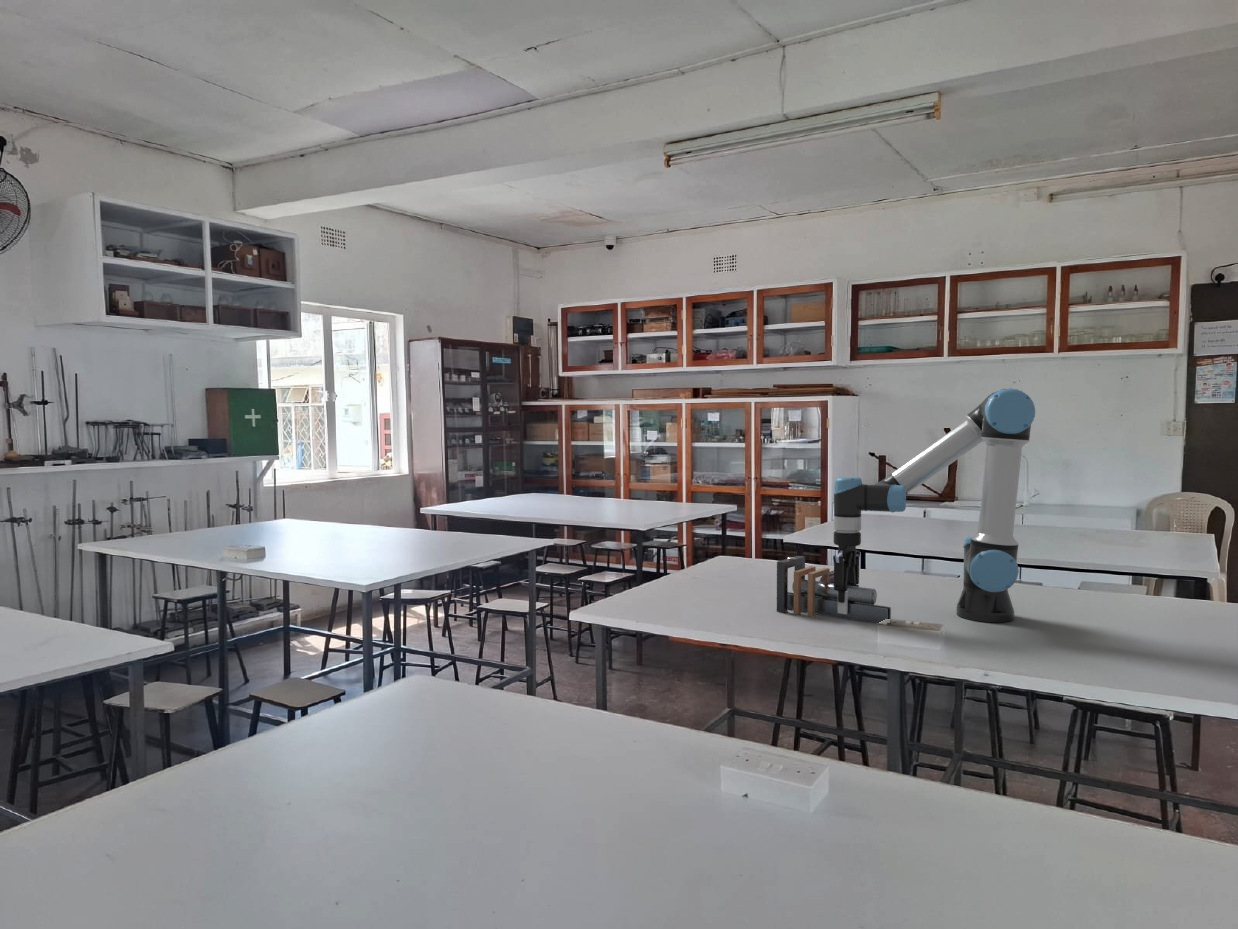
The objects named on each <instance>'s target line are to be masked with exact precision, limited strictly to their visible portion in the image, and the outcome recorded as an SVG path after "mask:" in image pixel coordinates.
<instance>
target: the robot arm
mask: <svg viewBox="0 0 1238 929" xmlns="http://www.w3.org/2000/svg"><path fill="white" fill-rule="evenodd" d="M1035 417H1036V406H1035V403H1034V401H1033V399H1032V398H1031V397H1030V396H1029V395H1028V394H1027V393H1025V392H1024V391H1023V390H1019V389H1018V388H1002V389H1000V390H997V391H995V392H994V391H993V392H992V393H991V394H989V395H988V396H987V397H986V398H985V399H984V400H983V401H982V402H981V403H979V404H978V406H976V407H975V408H974V409H973V410H972V411H970V412H969V413H967V415H965V418H964V421H963V422H961V423H959V425H957V426H956V427H954V428H953V429H952V430H950V431H949V432H947V433H946V434H944V435H943V436H942V437H940V438H939V439H938V440H936V441H934V442H933V443H931V445H929V446H928V447H926V449H923V450H922V451H921V452H920V453H918V454H917V455H915V456H914V457H912V458H911V459H910V460H908V461H907V462H906V463H904V464H903V465H902V466H900V467H899V468H897V469H896V470H895V471H893V472H891V473H890V475H888V476H886V477H885V478H883V479H882V480H880V481H878V482H877V483H875V484H864V483H863V482H862V478H860V477H856V476H840V477H837V478H835V480H834V486H833V487H834V488H833V518H832V521H833V529H834V530H835V531H834V532H833V544H834V545H836V546H838V547H837V548H838V550H837V554H836V555H835V554H834V555H833V556H832V560H833V571H834V590H837V591H838V613H841V614H848V591H846V589H847V585H849V586H856V587H860V585H859V584H860V556H861V550H858V549H857V547H858V546H861V542H862V533H861V532H860V531H861V530H862V512H863V511H864V512H868V511H869V512H886V513H887V512H888V513H903V512H904V511H906V508H907V495H909V494H910V493H911V492H913V491H914V490H916V488H918V487H920V486H921V485H923V484H924V483H926V482H927V481H929V480H930V479H932V478H933V477H934V476H936V475H937V474H939V473H940V472H941V471H943V470H945V469H946V468H947V467H948V466H950V465H951V464H953V463H954V462H956V461H957V460H959V459H960V458H961V457H963V456H964V455H966V454H967V453H969V452H970V451H971V450H973V449H974V448H977V446H979V445H980V444H981V443H985V444H986V446H985V447H986V448H985V458H984V468H983V477H982V486H981V487H982V488H981V497H980V506H979V507H980V508H979V517H978V518H979V519H978V527H977V528H978V529H977V532H976V533H975V534H973V535H972V536H966V537H965V538H964V541H963V543H964V544H963V546H962V547H963V588H962V591H961V594H960V596H959V599H958V602H957V603H956V612H955V613H956V615H957V616H958V617H961V618H963V619H967V620H971V621H977V622H986V623H1007V622H1011V621H1014V620H1015V609H1014V606H1013V602H1012V600H1011V597H1010V594H1009V589H1010V588H1011V587H1013V586H1014V584H1015V583H1016V582H1017V580H1018V577H1019V565H1018V562H1017V561H1018V550H1019V542H1018V541H1017V540H1016V538H1015V537H1014V529H1015V518H1016V510H1017V502H1018V501H1017V500H1018V499H1017V498H1018V490H1019V481H1020V471H1021V470H1020V469H1021V462H1022V452H1023V447H1024V446H1025V445H1027V444H1028V443H1029V442H1030V437H1031V436H1030V435H1031V428H1032V423H1033V422H1034V419H1035Z"/></svg>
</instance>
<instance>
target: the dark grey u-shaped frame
mask: <svg viewBox="0 0 1238 929" xmlns="http://www.w3.org/2000/svg"><path fill="white" fill-rule="evenodd" d="M790 568H794V571H797V570H800V569H803V568H806V556H804V555H803V556H802V555H796V556H792V557H791V556H788V557H787V558H785V559H781V560H777V561H776V612H777V613H782V614H785V613H788V612H789V609H788V592H789V591H788V586H789V582H788V578H789V577H788V573H789V572H788V570H789V569H790ZM801 579H804V580H806V575H804V576H801Z"/></svg>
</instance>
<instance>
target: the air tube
mask: <svg viewBox="0 0 1238 929" xmlns="http://www.w3.org/2000/svg"><path fill="white" fill-rule="evenodd" d="M819 581H820V580H819ZM819 581H818V580H816V581H815V596H818V597H824V598H831V599H838V591H837V590H834V583H826V582H819ZM791 588H792V593H794V580H793V582H792V586H791ZM846 591H848V601H851V602H858V603H865V604H871V605H876V602H877V598H878V597H877V596H878V593H877V590H876V589H875V588H869V587H861V586H859V587H856V586H849V585H847V589H846ZM801 594H804V595H808V579H805V580H804V579H801Z"/></svg>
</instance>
